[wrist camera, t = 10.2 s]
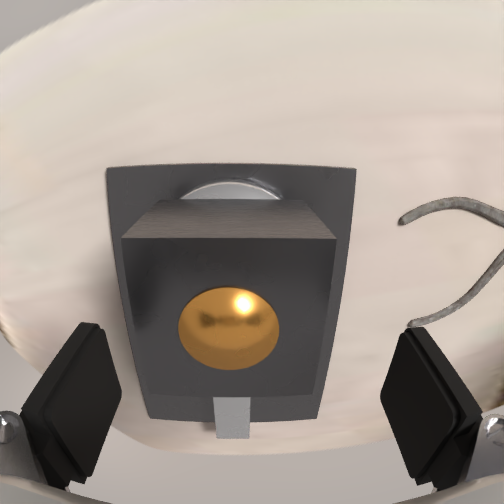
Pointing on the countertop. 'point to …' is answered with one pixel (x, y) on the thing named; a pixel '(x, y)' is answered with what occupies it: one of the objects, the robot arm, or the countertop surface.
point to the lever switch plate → (235, 187)
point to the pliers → (500, 218)
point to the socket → (229, 296)
